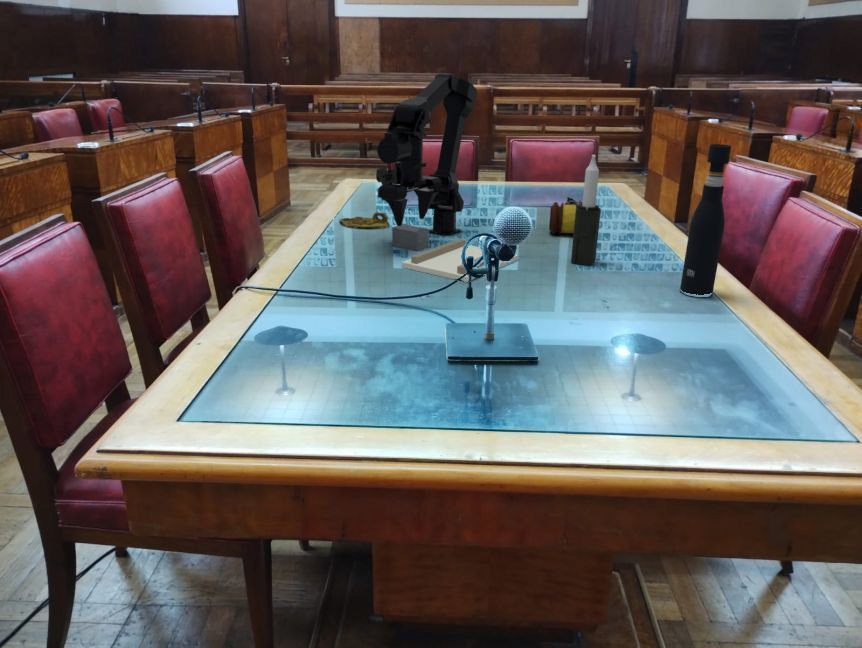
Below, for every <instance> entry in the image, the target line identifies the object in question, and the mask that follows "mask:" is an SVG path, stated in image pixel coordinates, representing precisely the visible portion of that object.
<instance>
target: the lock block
mask: <svg viewBox="0 0 862 648" xmlns="http://www.w3.org/2000/svg"><path fill="white" fill-rule="evenodd" d="M429 230H430V229H429V228H425V227H421V226H415V225H410V224H407V223H402V225H401V226H397V225H396V226H392V227H391V231H392V233H391V238H392V239H391V240H392V241H391V242H392V243H391V244H392V245H391V247H395V248H399V249H402V250H408V251H413V252H420V251H423V250H426V249H427V250H428V249H429V238H430V237H429V236H430V235H429V234H430V232H429Z"/></svg>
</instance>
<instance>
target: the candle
mask: <svg viewBox="0 0 862 648" xmlns="http://www.w3.org/2000/svg"><path fill="white" fill-rule="evenodd" d="M596 157H597V156H596V155H595V154H592V155H591V160H590V163H589V164H588V166H587V167H586V169H585V173H584V183H583V184H584V185H583V193H582V195H583V196H582V202H583V203H582V204H580V205H579V206H578V208H577V209H576V214H575V224H574V233H573V235H572V247H571V257H570V258H571V259H570V263H571V264H573V265H581V266H586V267H591V266H593V265H594V264H595V263H596V260H597V259H596V258H597V257H596V256H597V249H598V239H599V231H600V230H599V229H600V220H601V213H602V212H601V211H602V209H601V208H600V206H599V205H596V204H597V194H598V193H597V192H598V185H599V184H598V183H599V174H600V170H599V167H598V166H597V161H596Z"/></svg>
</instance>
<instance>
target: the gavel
mask: <svg viewBox="0 0 862 648" xmlns="http://www.w3.org/2000/svg"><path fill="white" fill-rule="evenodd" d="M566 199H567V200H566V202H565V203H564V202H561V205H559V203H558V202H556V201H555V202H553V204H552V205H551V206H550V211H549V212H550V213H549V226H548V227H549V228H548V230H549V231H550V232H551V235H553V236H555V235H556V233H557V232H558V234H559V235H560V236H562V234H574V224H575V214H576V209H577V208H578V206H579V205H580V204H583V201H582V200H580V199H579V200H578V201H577V200H575V199H574V198H572V197H566Z"/></svg>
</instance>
